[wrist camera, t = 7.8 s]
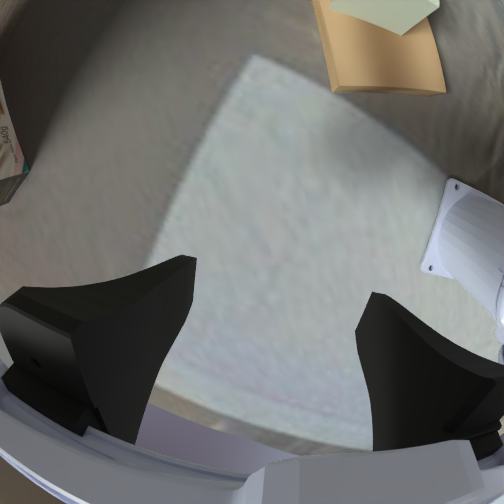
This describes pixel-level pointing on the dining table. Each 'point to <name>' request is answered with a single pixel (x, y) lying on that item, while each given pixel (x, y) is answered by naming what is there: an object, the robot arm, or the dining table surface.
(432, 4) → the sage block
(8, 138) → the cake mix box
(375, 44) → the tan block
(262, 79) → the dining table surface
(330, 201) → the dining table surface
